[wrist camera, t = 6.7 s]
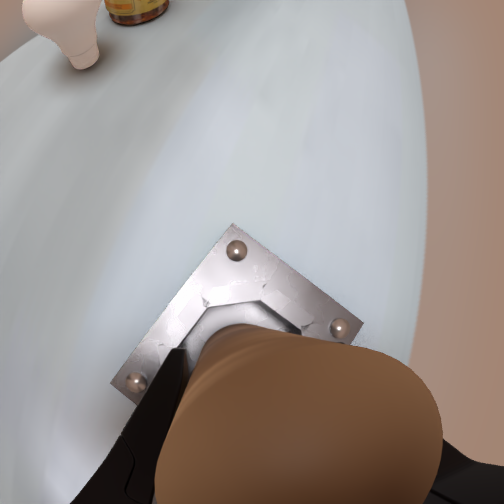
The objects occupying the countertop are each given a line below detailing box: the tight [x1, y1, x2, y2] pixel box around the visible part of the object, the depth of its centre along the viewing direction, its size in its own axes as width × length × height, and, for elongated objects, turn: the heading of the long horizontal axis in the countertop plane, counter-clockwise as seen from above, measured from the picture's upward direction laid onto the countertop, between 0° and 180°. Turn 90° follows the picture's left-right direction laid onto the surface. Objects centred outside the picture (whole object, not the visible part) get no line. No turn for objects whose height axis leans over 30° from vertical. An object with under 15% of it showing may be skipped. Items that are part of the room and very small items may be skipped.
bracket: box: [111, 223, 364, 405], centre depth 17 cm, size 12×10×4 cm
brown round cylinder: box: [155, 323, 443, 504], centre depth 10 cm, size 4×4×12 cm
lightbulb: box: [22, 0, 101, 69], centre depth 16 cm, size 6×6×11 cm
